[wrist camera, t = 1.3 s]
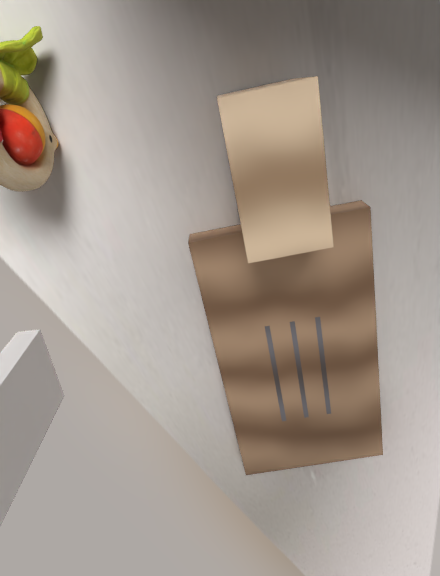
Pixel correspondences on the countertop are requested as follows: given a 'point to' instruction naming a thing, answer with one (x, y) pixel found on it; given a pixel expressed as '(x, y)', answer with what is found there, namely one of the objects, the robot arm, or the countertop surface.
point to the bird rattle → (23, 119)
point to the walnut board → (296, 344)
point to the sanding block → (278, 167)
